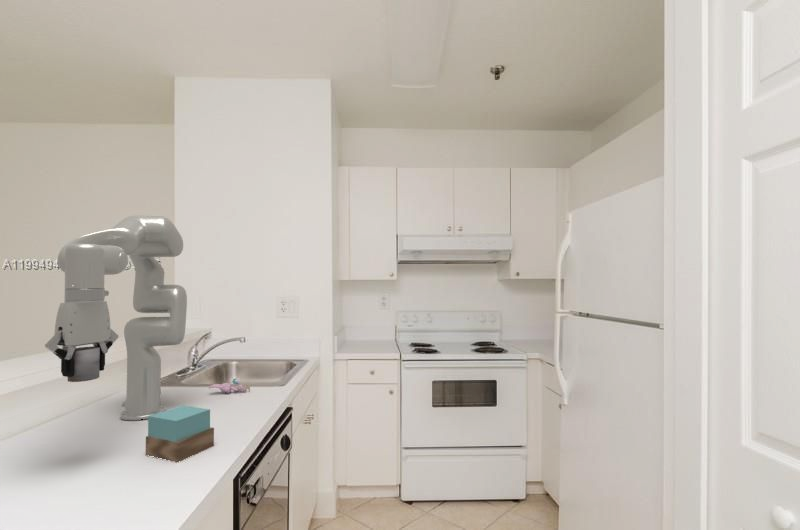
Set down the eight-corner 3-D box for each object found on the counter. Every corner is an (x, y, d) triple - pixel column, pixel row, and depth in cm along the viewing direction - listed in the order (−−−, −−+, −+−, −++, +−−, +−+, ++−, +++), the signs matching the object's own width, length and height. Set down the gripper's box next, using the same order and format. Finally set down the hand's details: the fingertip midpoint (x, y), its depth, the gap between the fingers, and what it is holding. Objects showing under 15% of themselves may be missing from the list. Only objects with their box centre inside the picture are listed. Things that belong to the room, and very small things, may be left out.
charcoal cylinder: (61, 380, 98) (62, 350, 98) (89, 374, 103) (89, 345, 103) (77, 382, 95) (78, 351, 96) (105, 376, 101) (105, 347, 101)
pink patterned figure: (248, 393, 169) (208, 390, 165) (251, 378, 170) (211, 374, 165) (248, 397, 164) (206, 394, 159) (251, 381, 164) (209, 378, 159)
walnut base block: (145, 457, 105) (145, 436, 105) (183, 441, 115) (183, 422, 116) (177, 463, 101) (178, 442, 101) (213, 447, 111) (213, 427, 112)
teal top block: (148, 436, 106) (148, 416, 106) (183, 423, 115) (183, 405, 115) (175, 442, 102) (176, 421, 102) (210, 428, 111) (210, 409, 111)
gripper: (111, 294, 109) (110, 364, 109) (32, 298, 93) (30, 380, 93) (131, 294, 106) (130, 367, 106) (52, 298, 90) (51, 383, 90)
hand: (83, 372), depth 99 cm, fingers closed on charcoal cylinder, 6 cm apart
